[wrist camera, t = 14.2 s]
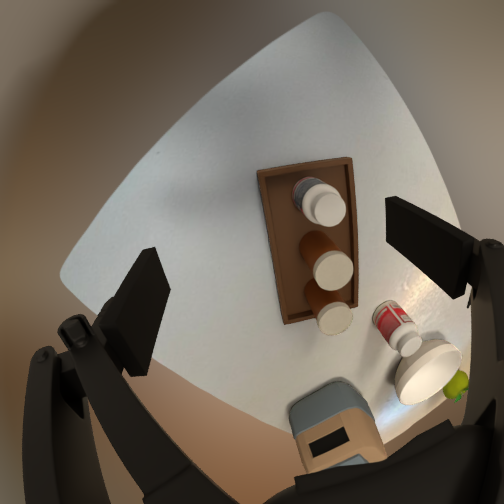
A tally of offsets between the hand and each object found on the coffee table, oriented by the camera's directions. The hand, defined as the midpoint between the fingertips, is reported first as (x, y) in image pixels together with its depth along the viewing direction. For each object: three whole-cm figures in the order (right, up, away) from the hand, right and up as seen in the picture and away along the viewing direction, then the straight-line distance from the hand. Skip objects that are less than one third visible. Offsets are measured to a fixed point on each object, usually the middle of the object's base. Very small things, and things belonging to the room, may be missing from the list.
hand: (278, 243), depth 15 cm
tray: (+8, +1, +28) cm, 30 cm away
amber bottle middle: (+8, +1, +28) cm, 29 cm away
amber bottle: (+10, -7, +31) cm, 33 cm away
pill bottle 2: (+25, -12, +36) cm, 46 cm away
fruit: (+61, -40, +51) cm, 89 cm away
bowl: (+40, -27, +44) cm, 65 cm away
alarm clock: (+17, -37, +46) cm, 62 cm away
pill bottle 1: (+7, +8, +25) cm, 27 cm away
